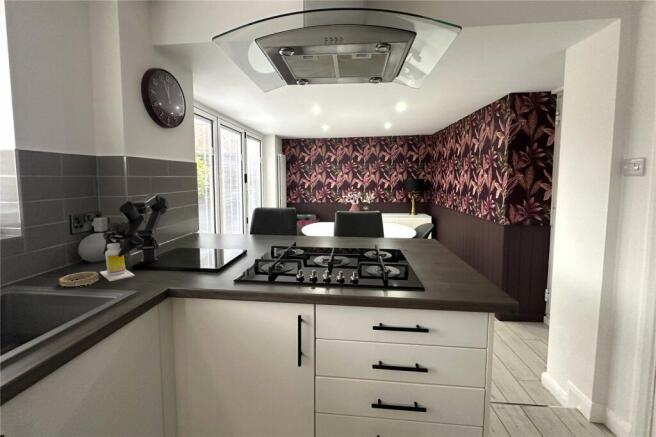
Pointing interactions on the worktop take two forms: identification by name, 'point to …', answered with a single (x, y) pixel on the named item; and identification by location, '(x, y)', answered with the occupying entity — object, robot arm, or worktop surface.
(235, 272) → the worktop surface
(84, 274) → the ring holder
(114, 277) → the pad
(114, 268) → the supplement bottle
